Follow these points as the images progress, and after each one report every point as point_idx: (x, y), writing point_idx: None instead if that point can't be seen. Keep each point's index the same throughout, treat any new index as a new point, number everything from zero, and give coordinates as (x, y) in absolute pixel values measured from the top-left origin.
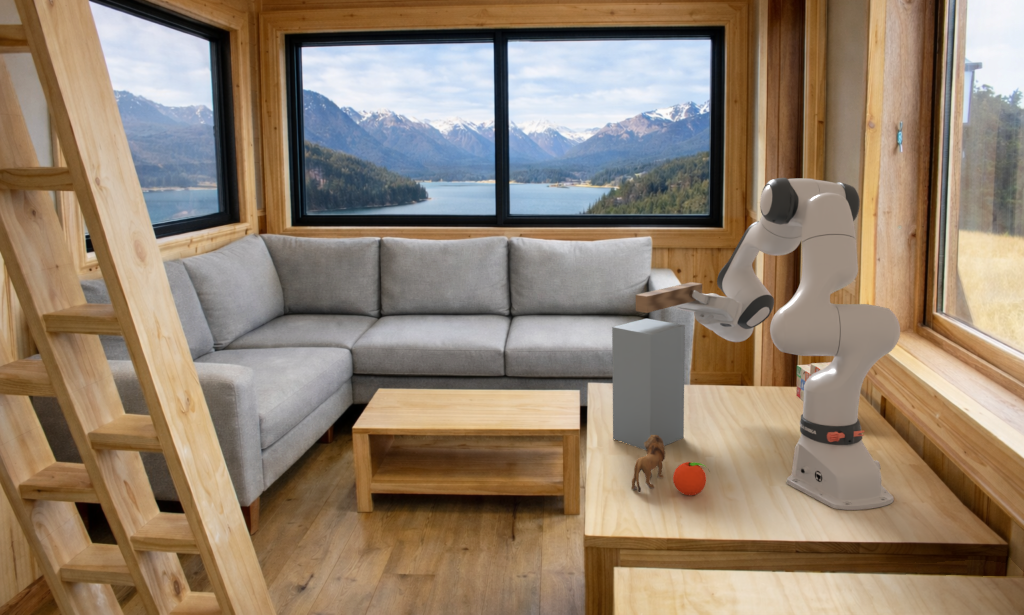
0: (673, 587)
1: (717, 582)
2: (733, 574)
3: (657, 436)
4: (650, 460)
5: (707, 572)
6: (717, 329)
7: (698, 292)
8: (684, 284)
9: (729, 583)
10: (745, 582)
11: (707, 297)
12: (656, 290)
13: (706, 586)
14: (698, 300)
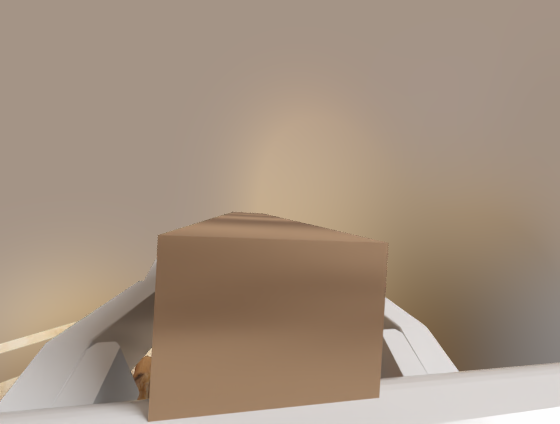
0: (77, 321)
1: (41, 334)
2: (24, 344)
3: (140, 377)
4: (136, 366)
5: (49, 337)
6: None
7: (148, 273)
8: (296, 225)
9: (29, 337)
10: (13, 342)
11: (19, 399)
12: (267, 215)
13: (51, 329)
14: (144, 344)
